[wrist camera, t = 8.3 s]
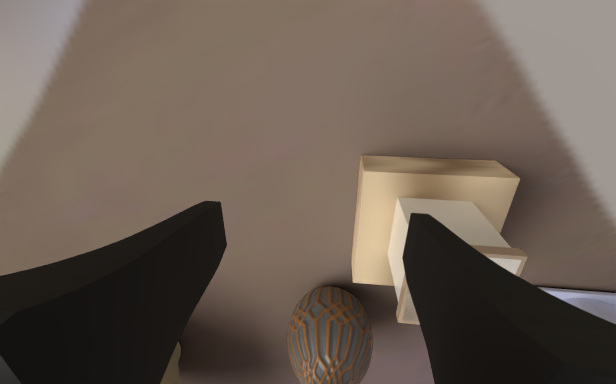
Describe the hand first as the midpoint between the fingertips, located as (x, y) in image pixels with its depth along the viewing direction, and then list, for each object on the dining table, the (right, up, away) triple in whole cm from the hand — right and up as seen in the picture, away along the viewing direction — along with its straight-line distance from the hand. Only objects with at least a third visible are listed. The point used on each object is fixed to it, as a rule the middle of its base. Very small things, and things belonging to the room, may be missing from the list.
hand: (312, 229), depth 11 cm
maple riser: (+8, 0, +11) cm, 13 cm away
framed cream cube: (+8, -1, +8) cm, 11 cm away
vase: (+2, -9, +16) cm, 18 cm away
